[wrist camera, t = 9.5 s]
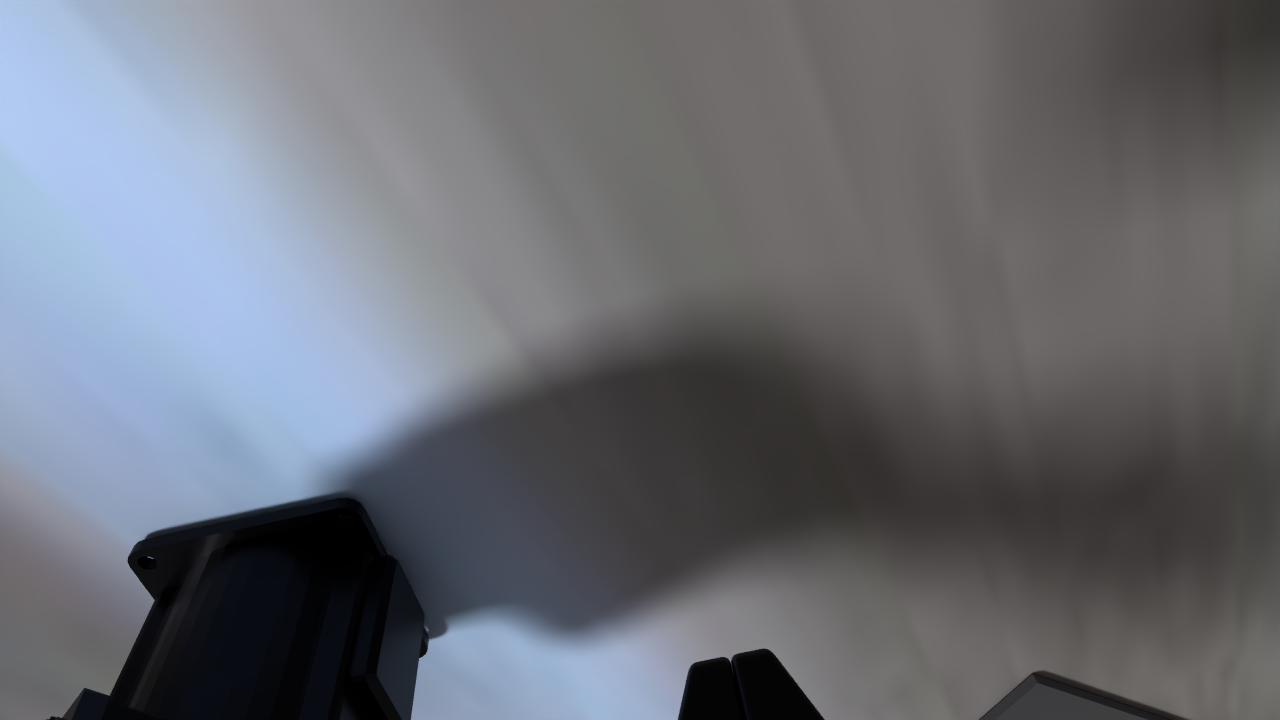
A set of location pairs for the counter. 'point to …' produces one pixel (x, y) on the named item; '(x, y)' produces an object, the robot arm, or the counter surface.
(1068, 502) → the counter surface
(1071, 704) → the rubber mat
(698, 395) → the counter surface
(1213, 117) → the counter surface
